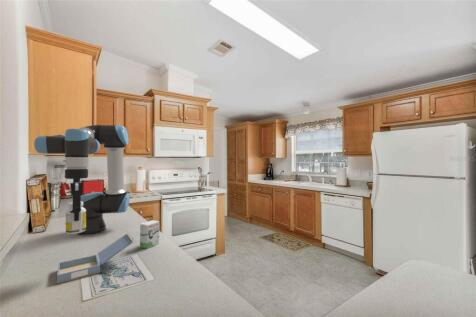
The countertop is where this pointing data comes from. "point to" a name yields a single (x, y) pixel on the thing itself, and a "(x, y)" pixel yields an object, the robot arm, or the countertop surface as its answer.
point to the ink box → (149, 234)
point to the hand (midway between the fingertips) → (76, 226)
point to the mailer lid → (115, 248)
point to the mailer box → (77, 268)
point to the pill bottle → (69, 220)
